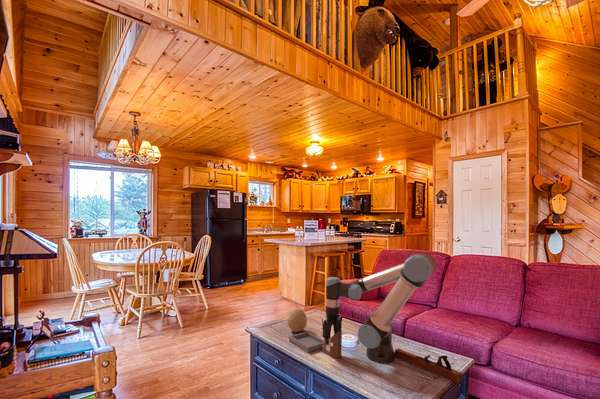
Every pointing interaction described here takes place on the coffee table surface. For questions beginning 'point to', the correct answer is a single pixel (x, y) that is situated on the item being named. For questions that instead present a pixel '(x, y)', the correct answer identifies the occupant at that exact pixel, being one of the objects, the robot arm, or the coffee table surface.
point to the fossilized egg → (297, 320)
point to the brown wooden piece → (334, 345)
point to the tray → (307, 341)
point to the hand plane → (431, 365)
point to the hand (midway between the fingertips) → (331, 349)
